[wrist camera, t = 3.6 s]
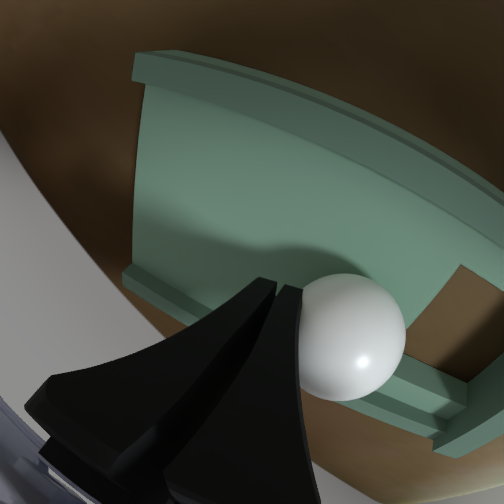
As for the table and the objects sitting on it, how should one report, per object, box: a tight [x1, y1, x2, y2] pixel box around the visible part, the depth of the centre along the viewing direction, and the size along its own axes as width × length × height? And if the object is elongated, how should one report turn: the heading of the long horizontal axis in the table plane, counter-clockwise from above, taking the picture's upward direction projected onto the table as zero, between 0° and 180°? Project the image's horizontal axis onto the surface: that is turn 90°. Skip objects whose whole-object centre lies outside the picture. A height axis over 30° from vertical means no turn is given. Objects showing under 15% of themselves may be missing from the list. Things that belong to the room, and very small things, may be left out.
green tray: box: [122, 50, 504, 458], centre depth 11 cm, size 20×11×3 cm, turn 74°
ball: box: [299, 273, 406, 401], centre depth 9 cm, size 4×4×4 cm
